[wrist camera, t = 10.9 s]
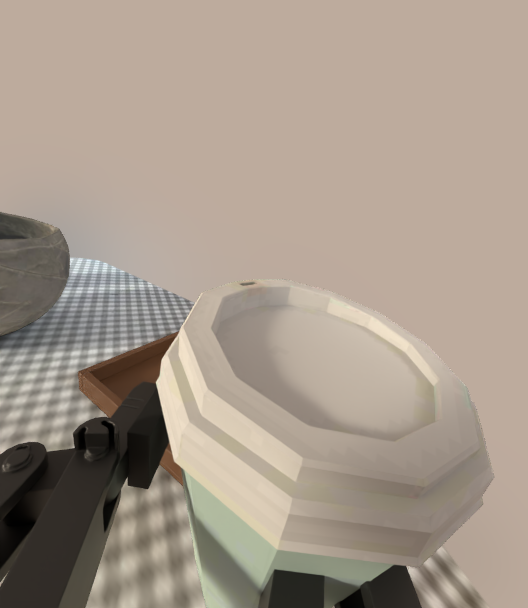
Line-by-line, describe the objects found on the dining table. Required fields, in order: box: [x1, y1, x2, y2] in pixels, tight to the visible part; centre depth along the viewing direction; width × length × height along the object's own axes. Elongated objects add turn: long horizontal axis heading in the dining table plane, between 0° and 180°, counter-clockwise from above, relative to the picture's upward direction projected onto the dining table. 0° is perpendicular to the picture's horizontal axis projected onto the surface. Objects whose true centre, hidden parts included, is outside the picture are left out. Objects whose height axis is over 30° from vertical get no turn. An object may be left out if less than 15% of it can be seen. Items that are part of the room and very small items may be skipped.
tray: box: [78, 331, 184, 486], centre depth 32 cm, size 19×17×3 cm
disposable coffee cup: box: [156, 279, 494, 608], centre depth 12 cm, size 11×11×15 cm
